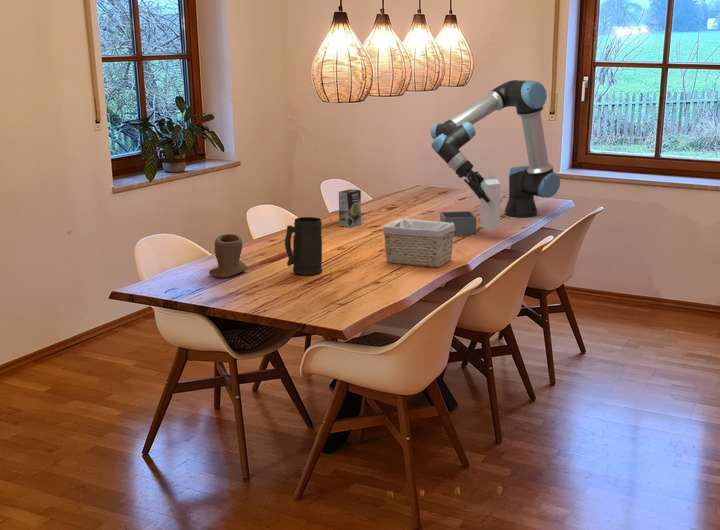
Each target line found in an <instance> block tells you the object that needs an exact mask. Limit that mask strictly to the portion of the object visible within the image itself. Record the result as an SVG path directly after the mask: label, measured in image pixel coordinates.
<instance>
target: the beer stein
mask: <svg viewBox="0 0 720 530" xmlns="http://www.w3.org/2000/svg"><path fill="white" fill-rule="evenodd" d="M293 225H294V226H293ZM293 225H287V226H286V232H285V233H286V234H285V239H284V247H285V248H284V249H285V251H286V254H287V257H288V260H287V262H286V263H287V264H286V265H287V267H290V266H292V265H293V268H292V272H293V273H294V274H298V275H299V274H300V275H308V276H309V275H319V274H320V273H322V272H323V268H322V262H323V237H322V225H323V224H322V219H321V218H320V217H314V216H313V217H312V216H303V217H297V218H295V219H294V223H293ZM293 233H294V236H293V245H292V244H291V243H292V241H291V240H292V235H293ZM292 246H293V248H292ZM292 249H293V250H292Z"/></svg>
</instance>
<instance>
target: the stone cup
mask: <svg viewBox="0 0 720 530" xmlns="http://www.w3.org/2000/svg"><path fill="white" fill-rule="evenodd" d="M242 250H243V240H242V238H241V236H239V235H238V234H234V233H223V234H220V235H219V236H218V237H217V238H215V241H214V255H215V258H216V261H217V267H214V268H212V269H210V270H209V271H208V274H209V275H210V276H212V277H216V278H228V277H232V276H234V275H237V274H239V273H242V272H244V271H247V270H248V269H249V267H248V265H247V264H245V263H244V262H243V261H241V260H240V258H241V254H242Z"/></svg>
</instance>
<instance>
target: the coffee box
mask: <svg viewBox="0 0 720 530" xmlns="http://www.w3.org/2000/svg"><path fill="white" fill-rule="evenodd" d="M361 192H362V190H361V189H351V188H349V189H346V190H341V191H338V226H339V227H342V226H344V227H343V228H348V227H350V228H354V227H356V225H357V226H361V225H362V195H361V194H362V193H361ZM360 224H361V225H360ZM353 226H354V227H353Z"/></svg>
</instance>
